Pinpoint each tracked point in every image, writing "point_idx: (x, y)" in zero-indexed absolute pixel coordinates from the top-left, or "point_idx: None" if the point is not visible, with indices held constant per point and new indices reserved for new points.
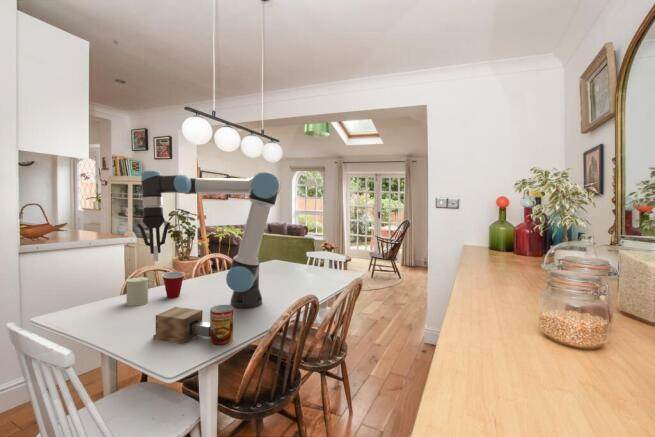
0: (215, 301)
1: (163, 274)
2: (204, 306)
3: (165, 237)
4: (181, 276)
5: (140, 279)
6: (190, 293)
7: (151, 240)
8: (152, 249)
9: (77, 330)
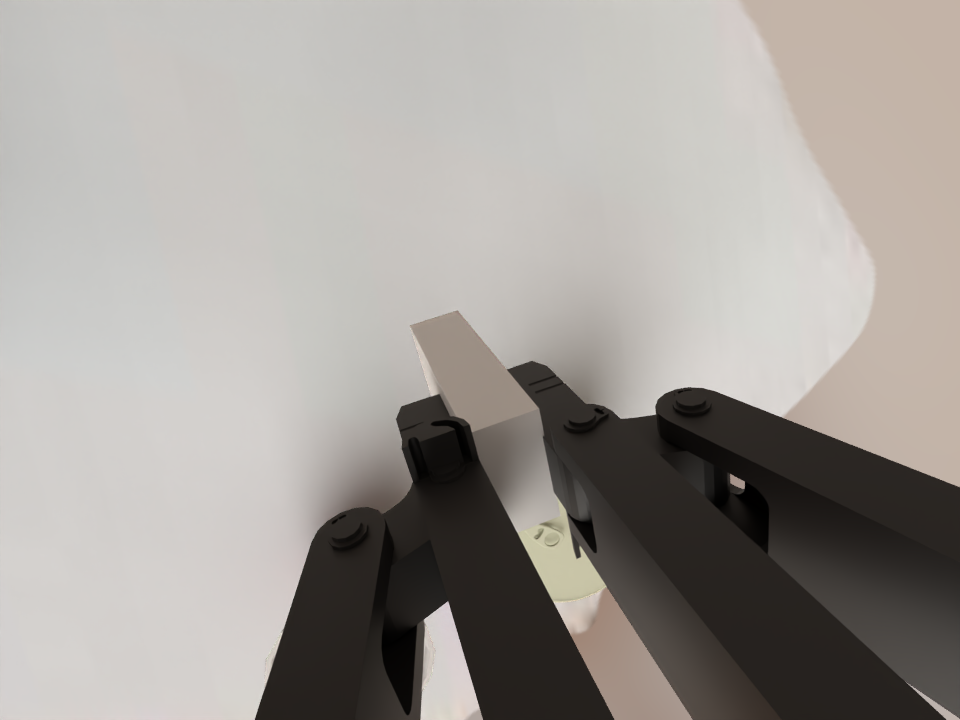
0: (28, 421)
1: (426, 670)
2: (88, 321)
3: (280, 687)
4: (281, 632)
5: (556, 530)
6: (258, 603)
7: (649, 485)
8: (541, 399)
9: (729, 62)
